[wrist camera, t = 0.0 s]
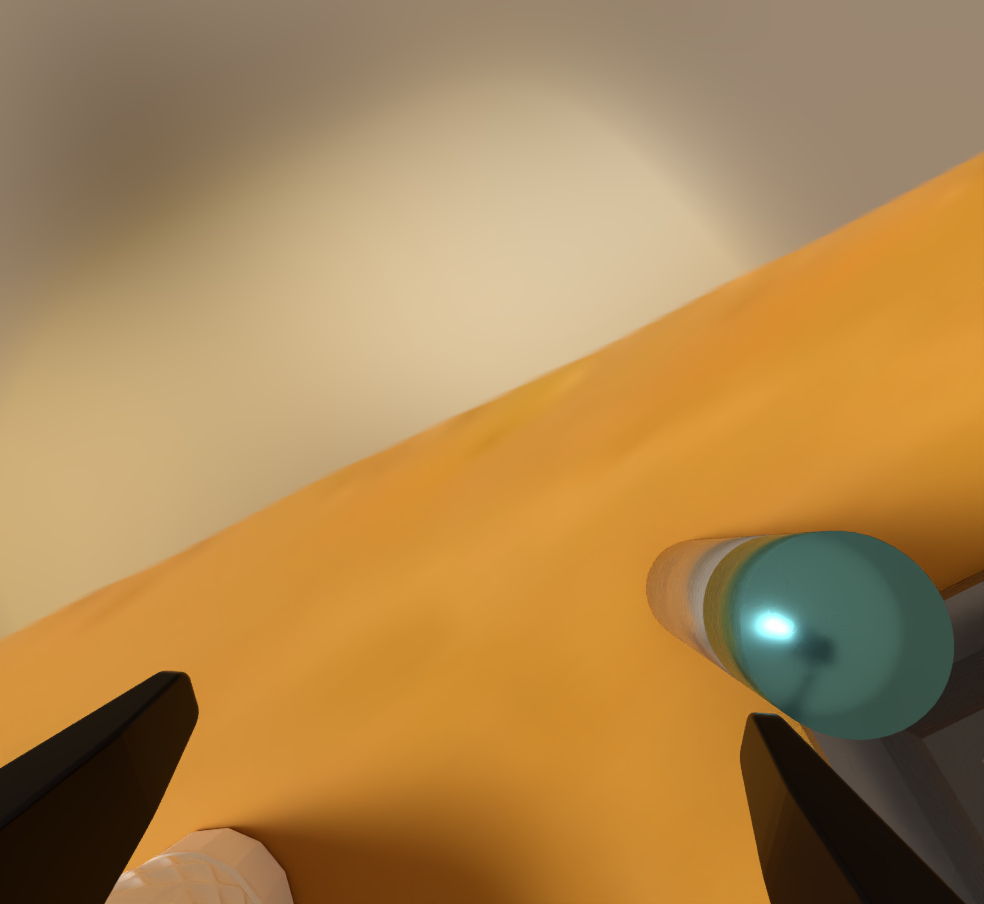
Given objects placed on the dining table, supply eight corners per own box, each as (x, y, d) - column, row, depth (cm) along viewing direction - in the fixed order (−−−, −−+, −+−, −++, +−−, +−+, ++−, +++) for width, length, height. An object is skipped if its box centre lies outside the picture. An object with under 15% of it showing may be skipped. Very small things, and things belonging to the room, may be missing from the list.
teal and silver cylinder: (768, 614, 23) (997, 683, 11) (677, 659, 23) (808, 776, 11) (716, 523, 24) (878, 497, 12) (628, 567, 24) (703, 584, 12)
